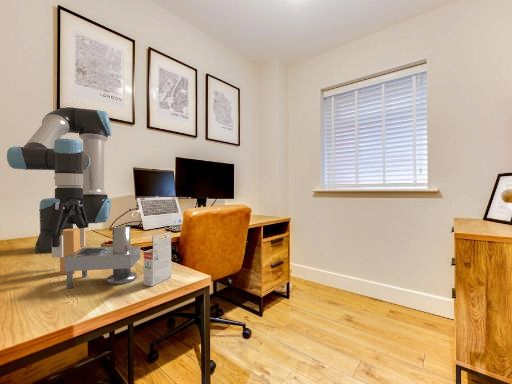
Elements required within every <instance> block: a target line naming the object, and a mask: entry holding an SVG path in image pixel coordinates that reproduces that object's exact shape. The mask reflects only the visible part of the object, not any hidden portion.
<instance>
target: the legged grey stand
mask: <svg viewBox="0 0 512 384" xmlns="http://www.w3.org/2000/svg"><path fill="white" fill-rule="evenodd" d="M111 231H112V233H111V234H112V241H113V247H101V246H100V247H96V246H95V247H80V249H79V250H77V251H75V252H73V253H71V254H69V255H67V256H65V271H67V274H66V289H69V290H70V289H73V287H74V285H73V284H74V278H73V277H74V274H73V271H77V272H81V277H82V278H87V277H88V271H97V270H98V271H99V270H100V271H101V270H112V274H110V275H109V276H107V277H106V283H107V284H108V285H112V286H117V285H118V286H120V285H126V284H129V283H131V282H135V280H137V273H136V272H133V271H132V270H131V269H132V267H134V265H135V264H136V263H137V262H138V261H140V260H141V245H131V244H132V243H131V226H130V225H129V226H128V225H123V226H121V225H119V226H114V227H112V230H111Z"/></svg>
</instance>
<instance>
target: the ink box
mask: <svg viewBox="0 0 512 384" xmlns="http://www.w3.org/2000/svg"><path fill="white" fill-rule="evenodd" d="M171 233H172V232H171V230H170V231H167V232H163V233H159V234H154V235H152V236H151V238H152V241H151V242H152V249H148V250H145V251H143V285H145V286H148V287H149V286H150V287H154V286H157V285H159V284H161V283H163V282H165V281H167V280H169V279H170V278H172V234H171ZM162 236H165V237H163V238H161V237H162Z"/></svg>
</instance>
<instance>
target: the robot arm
mask: <svg viewBox="0 0 512 384" xmlns="http://www.w3.org/2000/svg"><path fill="white" fill-rule="evenodd" d="M67 134H78V138H80V140H78V139H73V138H63V136H66V135H67ZM111 136H112V128H111V121H110V116H109V114H108V113H107V111H104V110H100V109H88V108H80V107H74V106H73V107H71V106H69V107H68V106H67V107H61V108H58V109H54V110H52V111H50V112H48V113H47V114H46V115H44V117H43V118H42V120H41V126H40V127H39V128H38V129H37V130H36V131H35V132H34V133H33V135H32V136H31V137H30V138H29V140H28V141H27V142H26V143H25V145H23V146H19V145H18V146H10V147H9V148H8V150H7V151H6V160H7V163H8V165H9V167H10V168H12V169H14V170H15V169H16V170H24V171H27V170H28V171H30V170H32V171H33V170H35V171H44V170H45V171H54V177H53V179H54V186H56V187H55V188H54V197H48V198H43V199H41V200H40V202H39V209H38V211H39V235H38V237H37V240H36V243H35V246H34V251H35V252H36V253H43V254H44V253H45V254H46V253H51V258H53V259H54V258H55V259H56V258H60V257H63V235H61V234H62V231H63V230H65V229H74V225H75V227H76V228H75V229H80V248H86V229H89V224H101V223H102V224H103V223H106V222H107V221H108V220H109V219H110V214H111V207H112V198H110V197H108V193H107V192H105V142H106V141H108V140H109V137H111ZM81 140H82V141H81Z"/></svg>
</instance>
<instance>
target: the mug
mask: <svg viewBox="0 0 512 384" xmlns="http://www.w3.org/2000/svg"><path fill="white" fill-rule="evenodd" d="M100 247H113V240H107V241H103V242H101V243H100Z"/></svg>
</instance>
